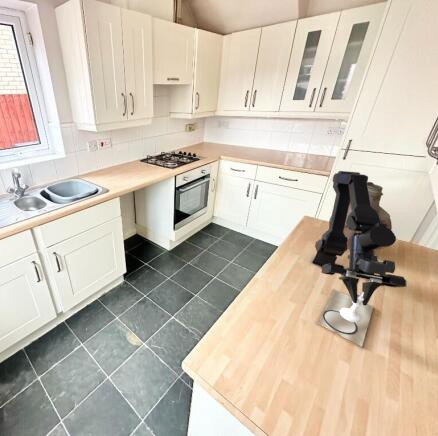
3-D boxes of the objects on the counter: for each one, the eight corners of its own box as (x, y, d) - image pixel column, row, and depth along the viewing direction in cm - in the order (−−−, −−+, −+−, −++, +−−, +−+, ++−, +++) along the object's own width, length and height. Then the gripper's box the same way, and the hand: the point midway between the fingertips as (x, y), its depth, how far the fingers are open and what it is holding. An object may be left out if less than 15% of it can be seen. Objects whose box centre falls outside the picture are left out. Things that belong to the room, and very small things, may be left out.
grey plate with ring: (318, 323, 77) (319, 322, 77) (334, 290, 89) (335, 289, 89) (361, 347, 70) (362, 345, 70) (372, 308, 82) (373, 306, 82)
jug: (374, 266, 101) (411, 200, 86) (316, 244, 115) (339, 185, 100) (383, 245, 113) (416, 185, 99) (329, 228, 127) (351, 173, 113)
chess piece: (359, 314, 76) (373, 291, 71) (359, 325, 72) (374, 301, 67) (340, 306, 78) (352, 284, 73) (339, 317, 75) (352, 294, 70)
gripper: (337, 241, 70) (334, 296, 67) (421, 255, 64) (422, 316, 60) (322, 248, 80) (318, 295, 77) (393, 260, 74) (392, 312, 71)
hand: (359, 304), depth 71 cm, fingers closed on chess piece
